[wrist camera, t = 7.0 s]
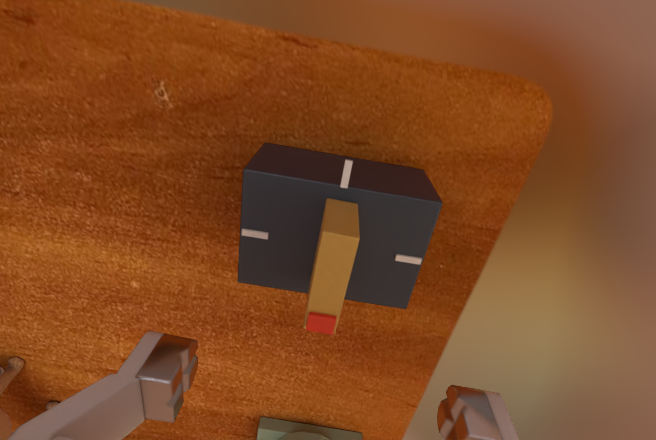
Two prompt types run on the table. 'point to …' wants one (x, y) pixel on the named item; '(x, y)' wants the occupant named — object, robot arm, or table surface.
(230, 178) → the table surface
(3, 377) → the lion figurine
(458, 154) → the table surface
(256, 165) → the plate
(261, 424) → the green button plate
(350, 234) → the lock knob
